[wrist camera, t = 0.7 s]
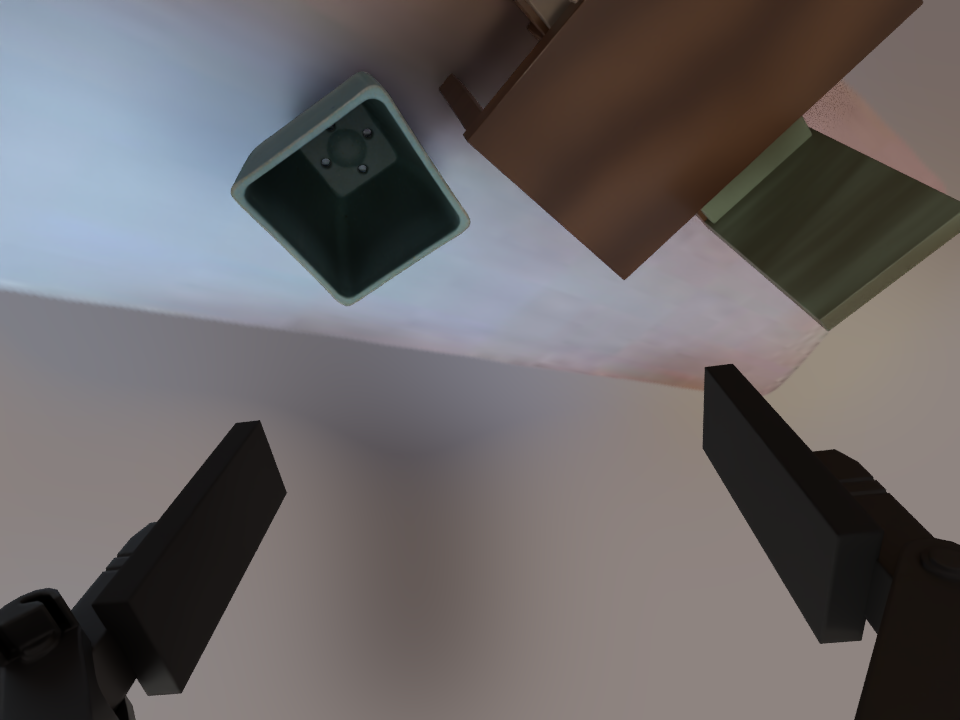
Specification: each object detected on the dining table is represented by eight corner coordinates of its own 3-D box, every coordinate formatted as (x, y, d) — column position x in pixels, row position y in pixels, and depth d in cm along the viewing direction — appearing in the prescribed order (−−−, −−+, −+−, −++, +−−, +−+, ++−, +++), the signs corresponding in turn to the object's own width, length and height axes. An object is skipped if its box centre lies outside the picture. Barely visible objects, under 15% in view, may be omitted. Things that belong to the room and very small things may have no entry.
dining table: (433, 89, 33) (466, 141, 27) (700, -258, 26) (833, -302, 20) (573, 217, 42) (624, 280, 35) (805, -21, 35) (924, 3, 28)
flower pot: (443, 163, 37) (475, 226, 30) (337, 236, 38) (345, 311, 31) (361, 35, 31) (378, 79, 24) (239, 127, 32) (224, 191, 26)
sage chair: (610, 128, 38) (769, 256, 25) (706, 26, 35) (939, 112, 22) (669, 195, 42) (828, 332, 30) (757, 110, 40) (974, 221, 27)
